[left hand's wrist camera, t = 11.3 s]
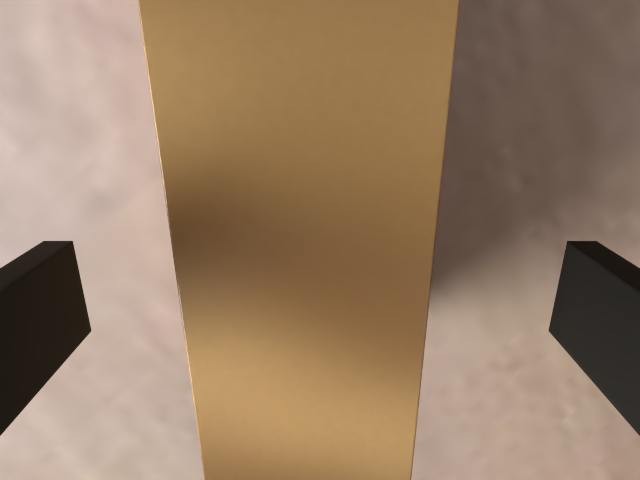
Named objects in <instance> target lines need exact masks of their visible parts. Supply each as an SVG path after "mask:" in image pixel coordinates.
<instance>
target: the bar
mask: <svg viewBox="0 0 640 480" xmlns="http://www.w3.org/2000/svg"><path fill="white" fill-rule="evenodd" d="M459 3H460V0H138V7H139V14H140V21H141V28H142V35H143V43H144V50H145V57H146V64H147V71H148V78H149V86H150V93H151V100H152V107H153V114H154V121H155V129H156V136H157V143H158V150H159V157H160V164H161V172H162V179H163V186H164V193H165V200H166V207H167V215H168V222H169V229H170V236H171V243H172V250H173V258H174V265H175V272H176V279H177V286H178V293H179V301H180V308H181V315H182V322H183V329H184V337H185V344H186V351H187V358H188V365H189V372H190V380H191V387H192V394H193V401H194V408H195V415H196V423H197V430H198V437H199V444H200V451H201V458H202V466H203V473H204V480H411V475H412V465H413V455H414V446H415V436H416V426H417V416H418V406H419V396H420V387H421V377H422V367H423V357H424V347H425V337H426V328H427V318H428V308H429V298H430V288H431V278H432V269H433V259H434V249H435V239H436V229H437V220H438V210H439V200H440V190H441V180H442V170H443V161H444V151H445V141H446V131H447V121H448V111H449V102H450V92H451V82H452V72H453V62H454V53H455V43H456V33H457V23H458V13H459Z"/></svg>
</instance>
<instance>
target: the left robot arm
mask: <svg viewBox="0 0 640 480" xmlns="http://www.w3.org/2000/svg"><path fill="white" fill-rule="evenodd" d="M90 332H91V327H90V322H89V317H88V313H87V308H86V303H85V298H84V293H83V289H82V284H81V279H80V274H79V269H78V264H77V260H76V255H75V250H74V245H73V241H43V242H42V243H40V244H38V245H37V246H35V247H34V248H32V249H30V250H29V251H27V252H26V253H24V254H22V255H21V256H19V257H18V258H16V259H15V260H13V261H11V262H10V263H8V264H7V265H5V266H3V267H2V268H0V435H1V434H2V433H3V432H4V431H5V430H6V429H7V427H8V426H9V425H10V424H11V423H12V422H13V420H14V419H15V418H16V417H17V416H18V415H19V414H20V412H21V411H22V410H23V409H24V408H25V407H26V405H27V404H28V403H29V402H30V401H31V400H32V399H33V397H34V396H35V395H36V394H37V393H38V392H39V391H40V389H41V388H42V387H43V386H44V385H45V384H46V382H47V381H48V380H49V379H50V378H51V377H52V376H53V374H54V373H55V372H56V371H57V370H58V369H59V367H60V366H61V365H62V364H63V363H64V362H65V361H66V359H67V358H68V357H69V356H70V355H71V354H72V352H73V351H74V350H75V349H76V348H77V347H78V346H79V344H80V343H81V342H82V341H83V340H84V339H85V337H86V336H87V335H88V334H89V333H90ZM549 332H550V333H551V334H552V335H553V336H554V337H555V339H556V340H557V341H558V342H559V343H560V344H561V346H562V347H563V348H564V349H565V350H566V351H567V352H568V354H569V355H570V356H571V357H572V358H573V359H574V361H575V362H576V363H577V364H578V365H579V366H580V367H581V369H582V370H583V371H584V372H585V373H586V374H587V376H588V377H589V378H590V379H591V380H592V381H593V382H594V384H595V385H596V386H597V387H598V388H599V389H600V391H601V392H602V393H603V394H604V395H605V396H606V397H607V399H608V400H609V401H610V402H611V403H612V404H613V405H614V407H615V408H616V409H617V410H618V411H619V412H620V414H621V415H622V416H623V417H624V418H625V419H626V420H627V422H628V423H629V424H630V425H631V426H632V427H633V429H634V430H635V431H636V432H637V433H638V434H639V435H640V268H638V267H637V266H635V265H633V264H632V263H630V262H629V261H627V260H625V259H624V258H622V257H621V256H619V255H618V254H616V253H614V252H613V251H611V250H610V249H608V248H606V247H605V246H603V245H602V244H600V243H598V242H597V241H567V245H566V250H565V255H564V260H563V264H562V269H561V274H560V279H559V284H558V289H557V293H556V298H555V303H554V308H553V313H552V317H551V322H550V327H549Z"/></svg>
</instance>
